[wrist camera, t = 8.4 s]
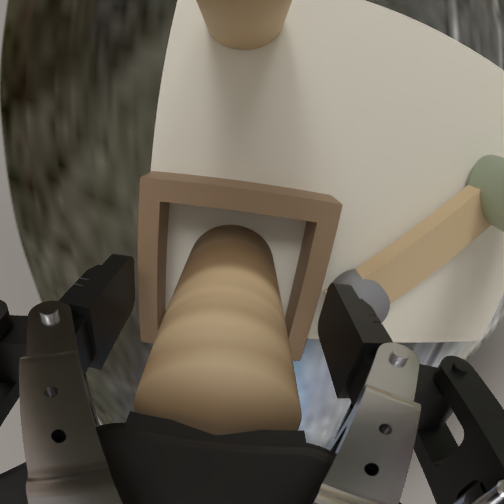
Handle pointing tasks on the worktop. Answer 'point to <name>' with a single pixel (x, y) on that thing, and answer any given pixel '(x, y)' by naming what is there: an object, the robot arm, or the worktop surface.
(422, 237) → the hinged leg
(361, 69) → the stool seat
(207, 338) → the loose leg
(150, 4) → the worktop surface
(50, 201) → the worktop surface
